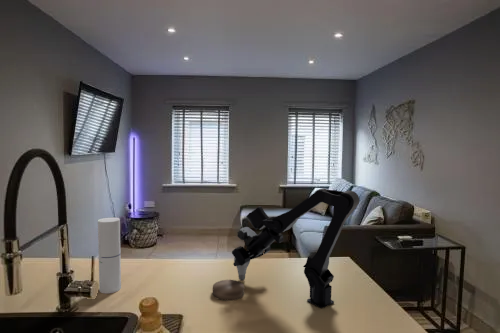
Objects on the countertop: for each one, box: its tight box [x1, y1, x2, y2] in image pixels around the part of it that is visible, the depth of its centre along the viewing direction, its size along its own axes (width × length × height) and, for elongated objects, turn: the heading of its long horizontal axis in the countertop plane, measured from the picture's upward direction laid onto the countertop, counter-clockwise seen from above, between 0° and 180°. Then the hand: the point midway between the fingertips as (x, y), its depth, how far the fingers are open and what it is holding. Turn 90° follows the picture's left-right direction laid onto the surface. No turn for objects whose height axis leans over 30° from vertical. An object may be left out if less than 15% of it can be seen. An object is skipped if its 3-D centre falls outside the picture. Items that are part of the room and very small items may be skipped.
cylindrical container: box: [97, 216, 122, 294], centre depth 123 cm, size 7×7×25 cm
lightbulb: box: [233, 256, 251, 281], centre depth 133 cm, size 6×6×11 cm
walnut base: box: [212, 279, 245, 301], centre depth 122 cm, size 11×11×2 cm
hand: (239, 262), depth 134 cm, fingers closed on lightbulb, 6 cm apart
